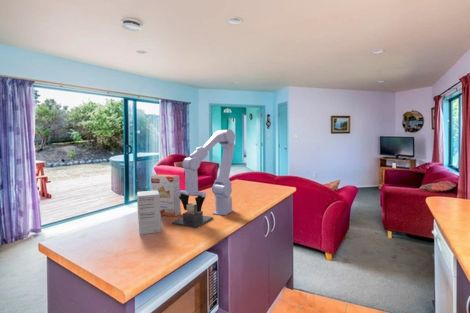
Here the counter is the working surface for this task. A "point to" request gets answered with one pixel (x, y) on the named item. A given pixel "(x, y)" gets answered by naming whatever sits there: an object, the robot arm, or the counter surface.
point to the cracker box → (167, 193)
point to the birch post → (192, 208)
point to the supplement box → (149, 212)
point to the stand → (192, 220)
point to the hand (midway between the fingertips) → (192, 210)
